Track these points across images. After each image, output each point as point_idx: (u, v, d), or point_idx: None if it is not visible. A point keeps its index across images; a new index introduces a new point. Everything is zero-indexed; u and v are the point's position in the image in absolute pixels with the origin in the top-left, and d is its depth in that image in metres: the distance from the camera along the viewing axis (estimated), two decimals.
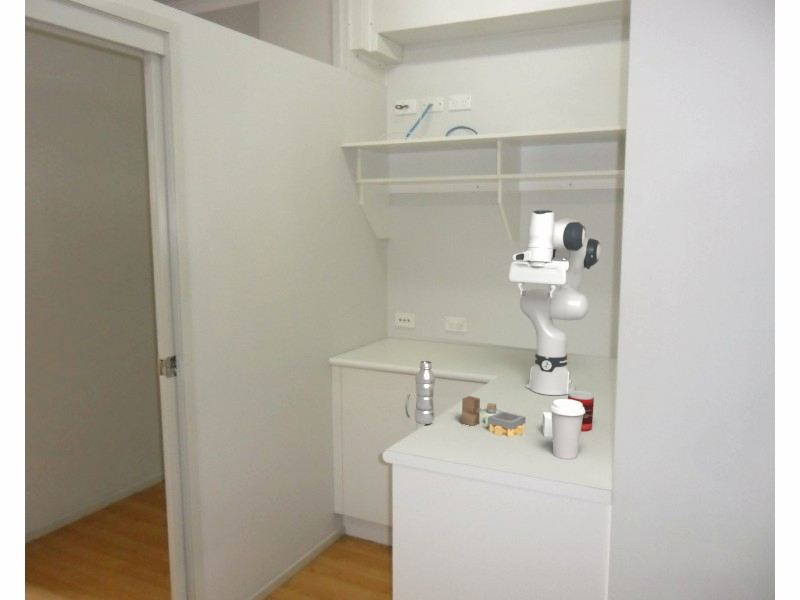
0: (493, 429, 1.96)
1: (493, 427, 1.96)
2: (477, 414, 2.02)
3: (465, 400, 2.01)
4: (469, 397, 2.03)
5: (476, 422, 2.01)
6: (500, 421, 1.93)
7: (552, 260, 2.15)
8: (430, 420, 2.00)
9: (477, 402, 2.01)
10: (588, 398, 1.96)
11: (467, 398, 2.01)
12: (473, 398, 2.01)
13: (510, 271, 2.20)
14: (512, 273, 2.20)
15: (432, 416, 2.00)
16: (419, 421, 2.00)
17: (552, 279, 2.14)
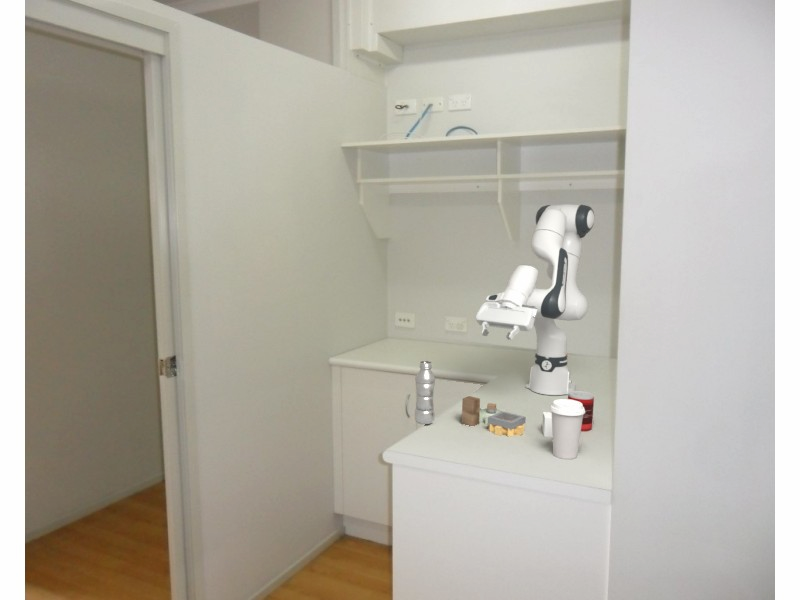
0: (493, 429, 1.96)
1: (493, 427, 1.96)
2: (477, 414, 2.02)
3: (465, 400, 2.01)
4: (469, 397, 2.03)
5: (476, 422, 2.01)
6: (500, 421, 1.93)
7: (522, 306, 2.10)
8: (430, 420, 2.00)
9: (477, 402, 2.01)
10: (588, 398, 1.96)
11: (467, 398, 2.01)
12: (473, 398, 2.01)
13: (479, 310, 2.16)
14: (481, 312, 2.15)
15: (432, 416, 2.00)
16: (419, 421, 2.00)
17: (516, 320, 2.06)
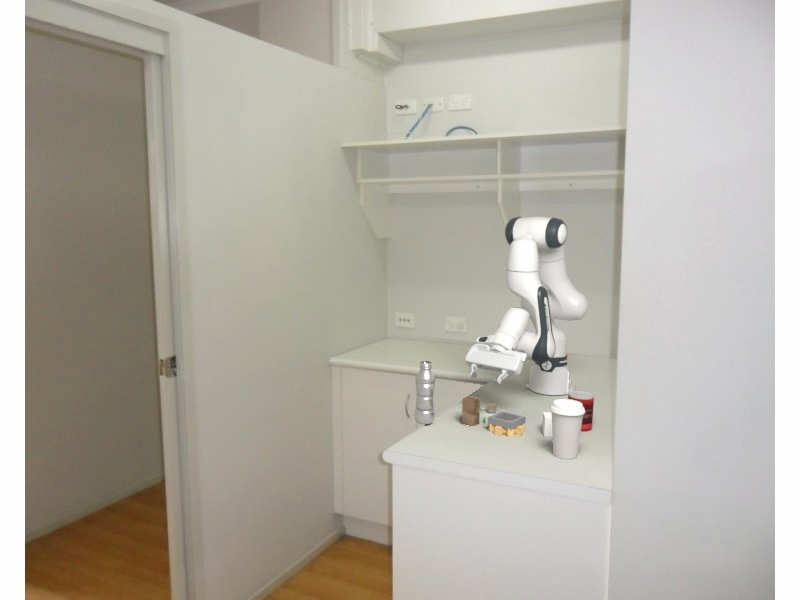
0: (493, 429, 1.96)
1: (493, 427, 1.96)
2: (477, 414, 2.02)
3: (465, 400, 2.01)
4: (469, 397, 2.03)
5: (476, 422, 2.01)
6: (500, 421, 1.93)
7: (512, 350, 2.09)
8: (430, 420, 2.00)
9: (477, 402, 2.01)
10: (588, 398, 1.96)
11: (467, 398, 2.01)
12: (473, 398, 2.01)
13: (469, 351, 2.15)
14: (470, 353, 2.14)
15: (432, 416, 2.00)
16: (419, 421, 2.00)
17: (505, 363, 2.05)
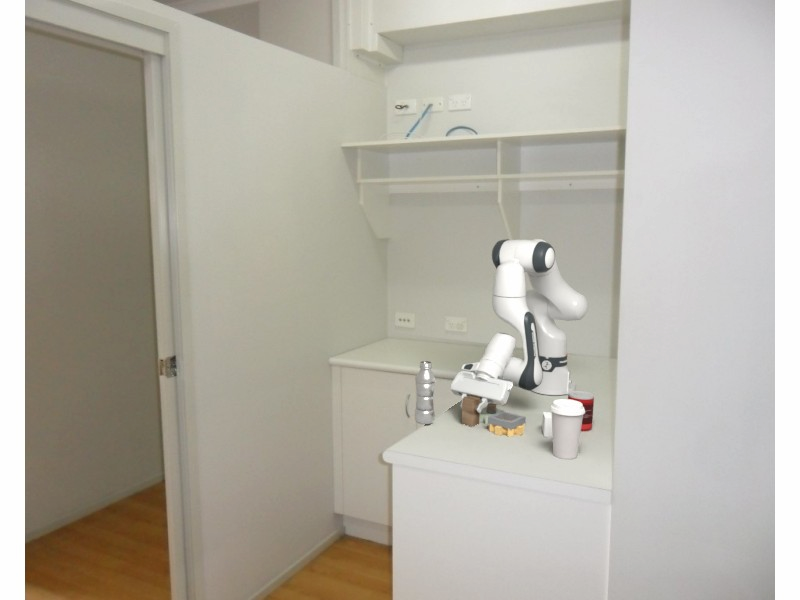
0: (493, 429, 1.96)
1: (493, 427, 1.96)
2: (477, 414, 2.01)
3: (465, 400, 2.01)
4: (469, 397, 2.02)
5: (476, 422, 2.01)
6: (500, 421, 1.93)
7: (498, 378, 2.04)
8: (430, 420, 2.00)
9: (477, 402, 2.01)
10: (588, 398, 1.96)
11: (467, 398, 2.01)
12: (473, 398, 2.01)
13: (454, 379, 2.10)
14: (456, 381, 2.09)
15: (432, 416, 2.00)
16: (419, 421, 2.00)
17: (490, 393, 2.00)
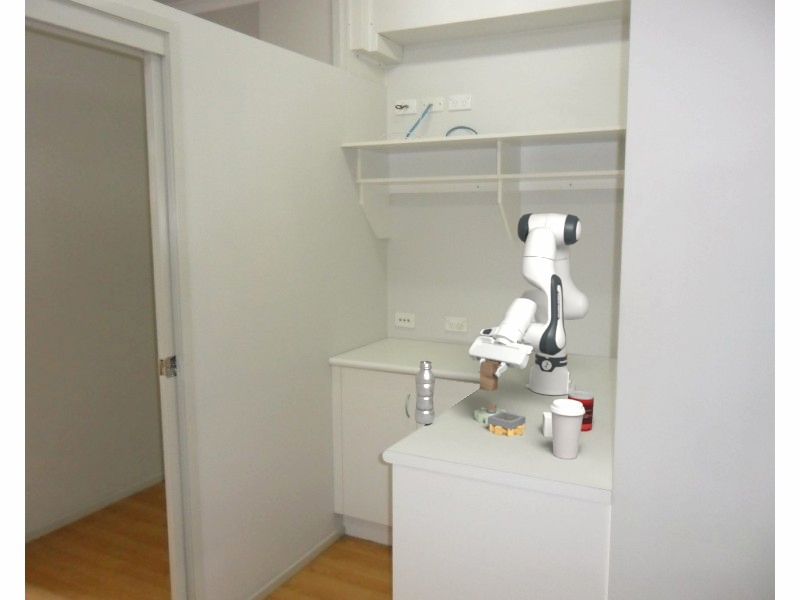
0: (493, 429, 1.96)
1: (493, 427, 1.96)
2: (495, 379, 1.97)
3: (483, 364, 1.96)
4: (487, 361, 1.98)
5: (494, 386, 1.96)
6: (500, 421, 1.93)
7: (517, 343, 1.99)
8: (430, 420, 2.00)
9: (495, 366, 1.96)
10: (588, 398, 1.96)
11: (485, 362, 1.97)
12: (491, 362, 1.97)
13: (472, 344, 2.05)
14: (474, 346, 2.04)
15: (432, 416, 2.00)
16: (419, 421, 2.00)
17: (509, 357, 1.95)
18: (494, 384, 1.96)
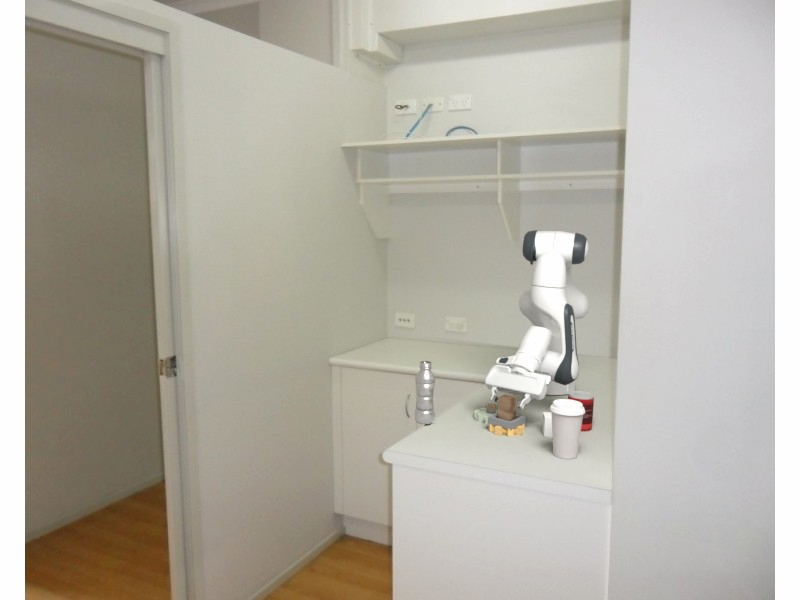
0: (493, 429, 1.96)
1: (493, 427, 1.96)
2: (514, 413, 1.96)
3: (501, 398, 1.95)
4: (505, 395, 1.97)
5: None
6: (500, 421, 1.93)
7: (535, 372, 1.98)
8: (430, 420, 2.00)
9: (514, 400, 1.95)
10: (588, 398, 1.96)
11: (503, 396, 1.95)
12: (509, 396, 1.96)
13: (489, 373, 2.04)
14: (490, 375, 2.03)
15: (432, 416, 2.00)
16: (419, 421, 2.00)
17: (528, 387, 1.93)
18: (512, 418, 1.95)
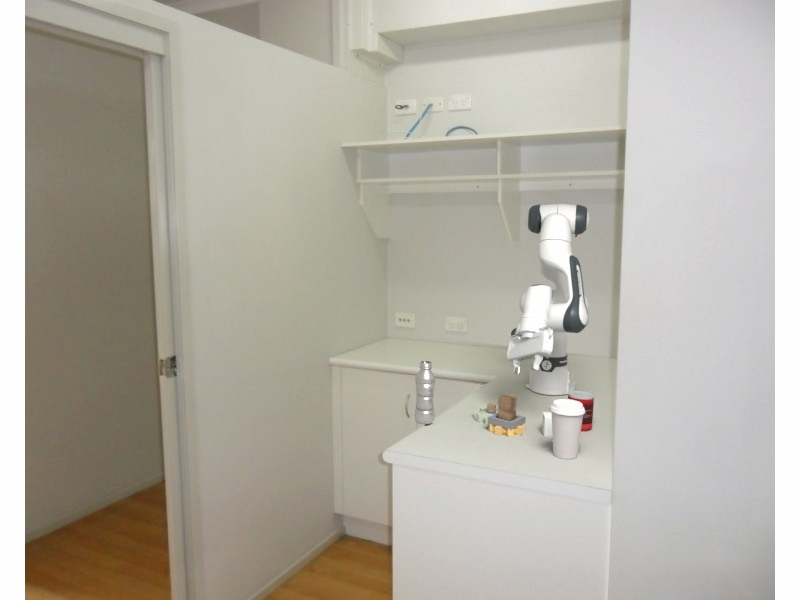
0: (493, 429, 1.96)
1: (493, 427, 1.96)
2: (514, 413, 1.96)
3: (501, 398, 1.95)
4: (505, 395, 1.97)
5: None
6: (500, 421, 1.93)
7: (539, 330, 1.99)
8: (430, 420, 2.00)
9: (514, 400, 1.95)
10: (588, 398, 1.96)
11: (503, 396, 1.95)
12: (509, 396, 1.96)
13: (507, 349, 2.09)
14: (509, 350, 2.08)
15: (432, 416, 2.00)
16: (419, 421, 2.00)
17: (534, 348, 1.96)
18: (512, 418, 1.95)
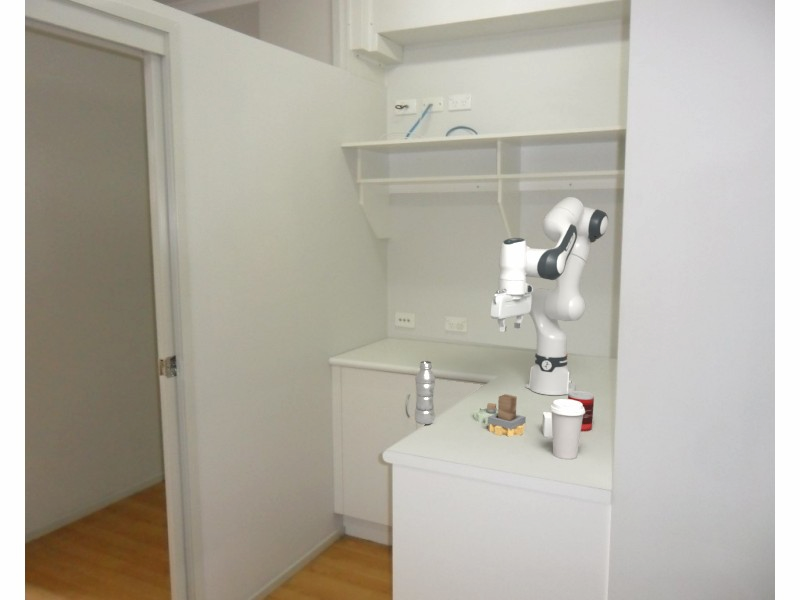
0: (493, 429, 1.96)
1: (493, 427, 1.96)
2: (514, 413, 1.96)
3: (501, 398, 1.95)
4: (505, 395, 1.97)
5: None
6: (500, 421, 1.93)
7: None
8: (430, 420, 2.00)
9: (514, 400, 1.95)
10: (588, 398, 1.96)
11: (503, 396, 1.95)
12: (509, 396, 1.96)
13: None
14: None
15: (432, 416, 2.00)
16: (419, 421, 2.00)
17: None
18: (512, 418, 1.95)
